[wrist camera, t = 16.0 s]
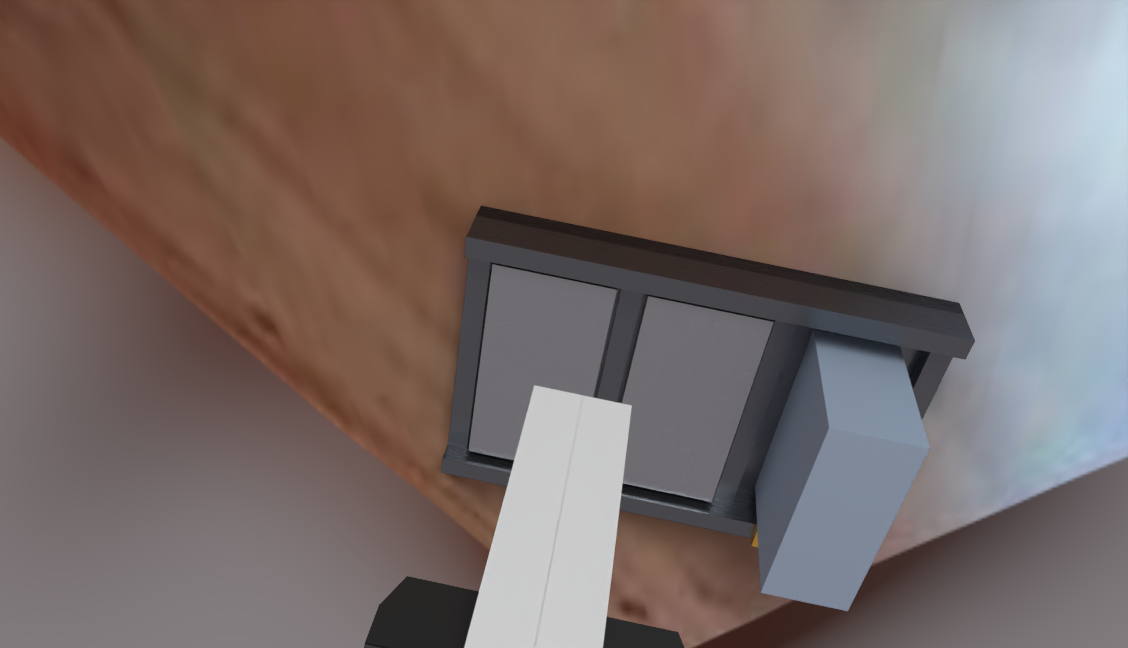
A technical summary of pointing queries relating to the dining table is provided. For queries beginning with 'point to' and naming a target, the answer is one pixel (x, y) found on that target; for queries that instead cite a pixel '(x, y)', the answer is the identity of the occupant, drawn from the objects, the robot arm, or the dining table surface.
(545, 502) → the robot arm
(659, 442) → the rack
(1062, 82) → the dining table surface
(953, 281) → the dining table surface
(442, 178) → the dining table surface
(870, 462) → the pale blue rectangular prism
